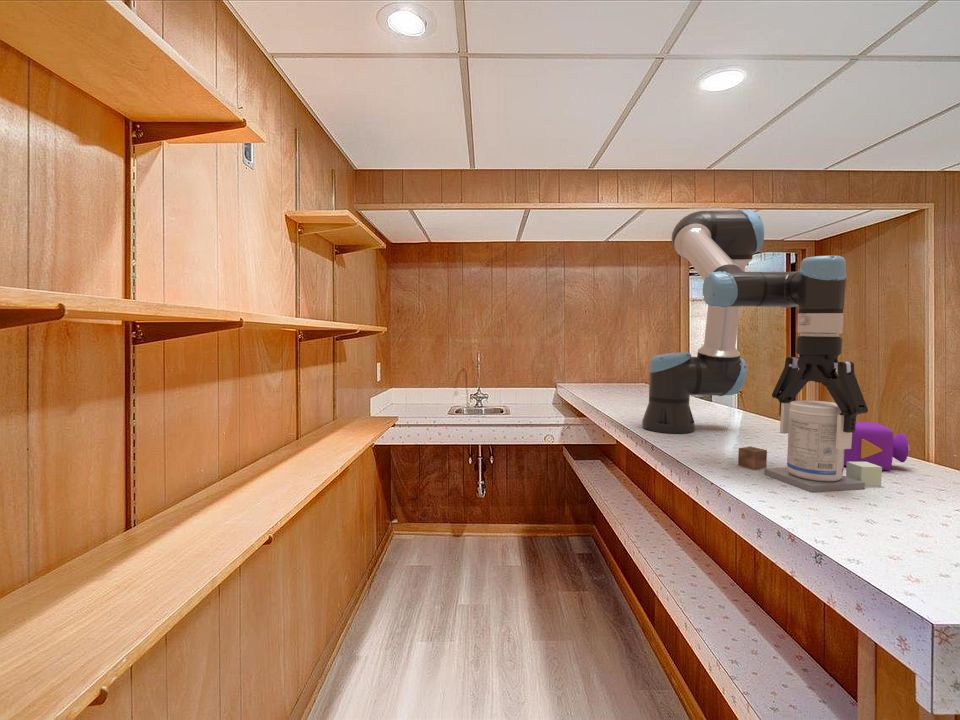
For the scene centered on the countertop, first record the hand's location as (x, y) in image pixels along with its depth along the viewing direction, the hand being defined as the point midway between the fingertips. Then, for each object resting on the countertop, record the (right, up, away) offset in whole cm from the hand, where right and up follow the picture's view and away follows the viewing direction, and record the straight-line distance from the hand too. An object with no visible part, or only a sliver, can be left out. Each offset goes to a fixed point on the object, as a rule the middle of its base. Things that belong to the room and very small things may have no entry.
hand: (813, 440), depth 102 cm
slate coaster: (0, -8, 0) cm, 8 cm away
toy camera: (+21, -8, +13) cm, 26 cm away
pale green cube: (+9, -9, -1) cm, 13 cm away
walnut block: (-6, -8, +11) cm, 15 cm away
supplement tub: (0, -7, 0) cm, 7 cm away
